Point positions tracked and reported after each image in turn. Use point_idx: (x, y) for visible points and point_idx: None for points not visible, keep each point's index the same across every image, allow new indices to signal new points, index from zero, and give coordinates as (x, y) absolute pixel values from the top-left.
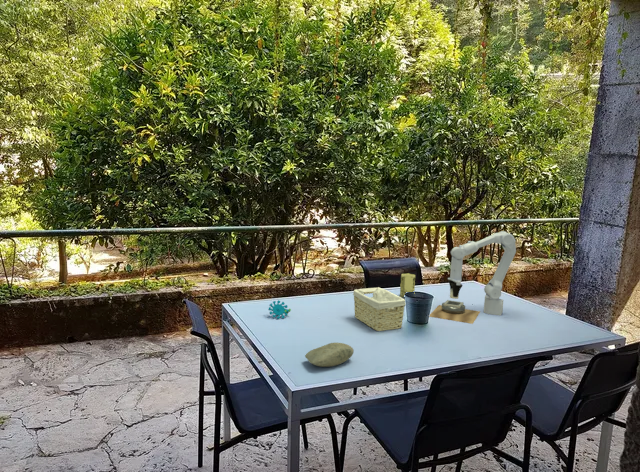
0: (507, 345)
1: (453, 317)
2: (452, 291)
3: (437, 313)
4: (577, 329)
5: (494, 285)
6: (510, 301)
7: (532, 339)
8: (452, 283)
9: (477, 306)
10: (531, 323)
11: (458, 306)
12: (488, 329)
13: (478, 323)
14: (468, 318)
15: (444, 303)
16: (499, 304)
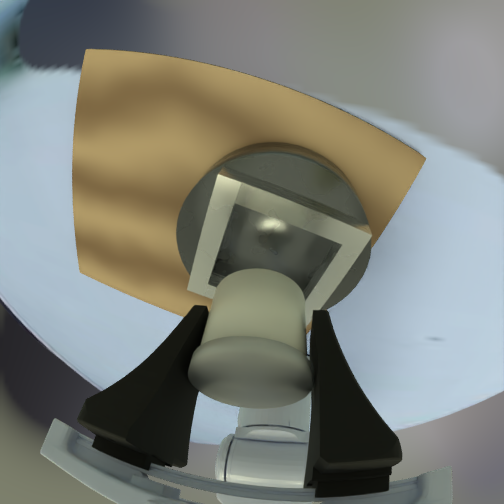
0: (18, 298)
1: (120, 204)
2: (204, 345)
3: (165, 101)
4: (204, 432)
5: (217, 494)
6: (426, 410)
7: (84, 359)
8: (123, 441)
9: (401, 351)
10: (211, 407)
11: (190, 278)
12: (83, 304)
13: (127, 296)
14: (142, 277)
15: (230, 181)
16: (239, 421)
